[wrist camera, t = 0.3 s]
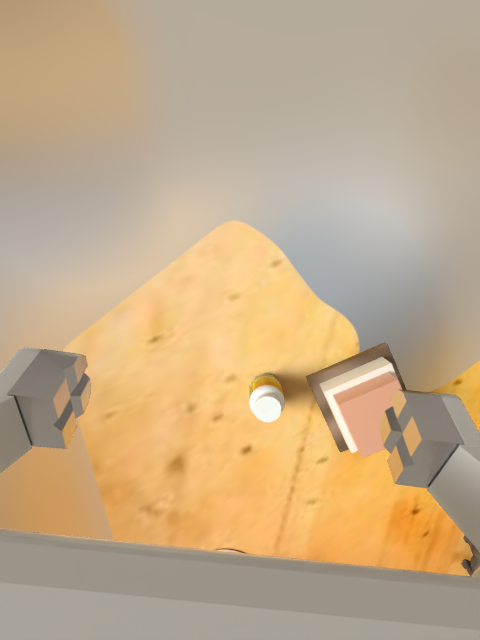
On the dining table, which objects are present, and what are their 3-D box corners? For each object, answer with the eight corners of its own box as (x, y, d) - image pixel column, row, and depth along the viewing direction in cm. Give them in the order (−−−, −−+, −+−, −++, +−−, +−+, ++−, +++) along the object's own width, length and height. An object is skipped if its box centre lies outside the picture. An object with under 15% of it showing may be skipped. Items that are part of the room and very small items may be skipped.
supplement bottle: (283, 400, 65) (289, 424, 56) (252, 405, 65) (253, 430, 56) (278, 370, 64) (283, 389, 55) (246, 375, 65) (246, 395, 55)
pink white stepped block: (407, 415, 63) (429, 437, 55) (345, 441, 64) (358, 466, 56) (382, 356, 62) (401, 370, 54) (319, 383, 63) (329, 401, 55)
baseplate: (415, 416, 65) (418, 420, 63) (338, 448, 66) (340, 452, 65) (384, 342, 63) (387, 344, 62) (305, 376, 64) (307, 379, 63)
